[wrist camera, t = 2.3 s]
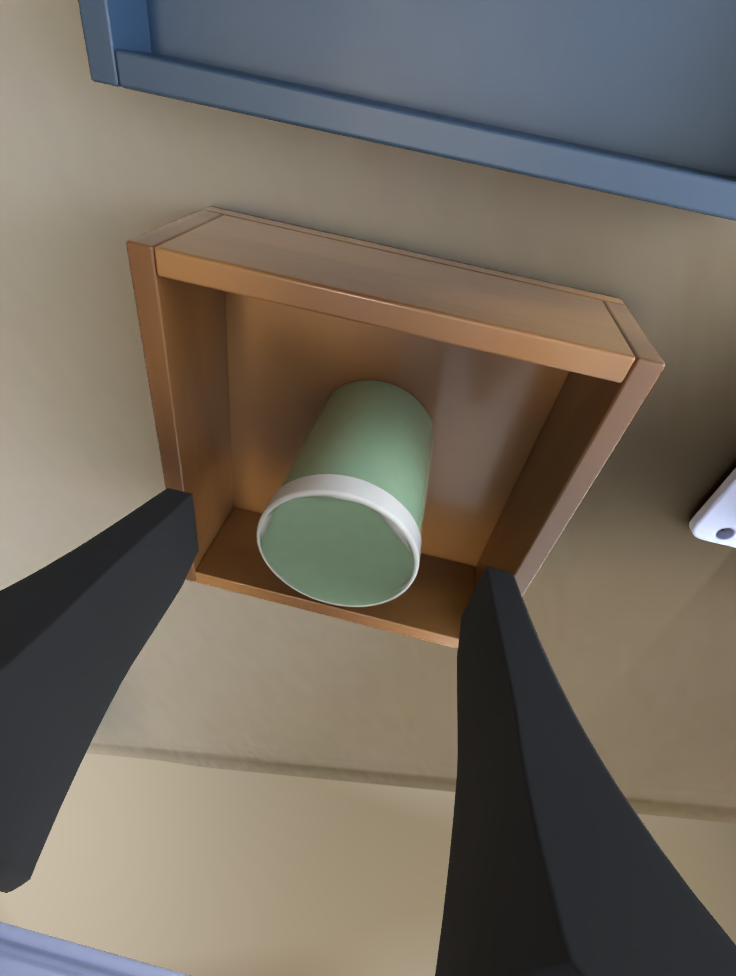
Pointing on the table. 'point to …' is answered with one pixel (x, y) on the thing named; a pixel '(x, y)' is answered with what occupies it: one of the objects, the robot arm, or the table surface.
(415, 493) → the shaker
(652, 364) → the open wooden box
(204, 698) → the table surface
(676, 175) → the tray
